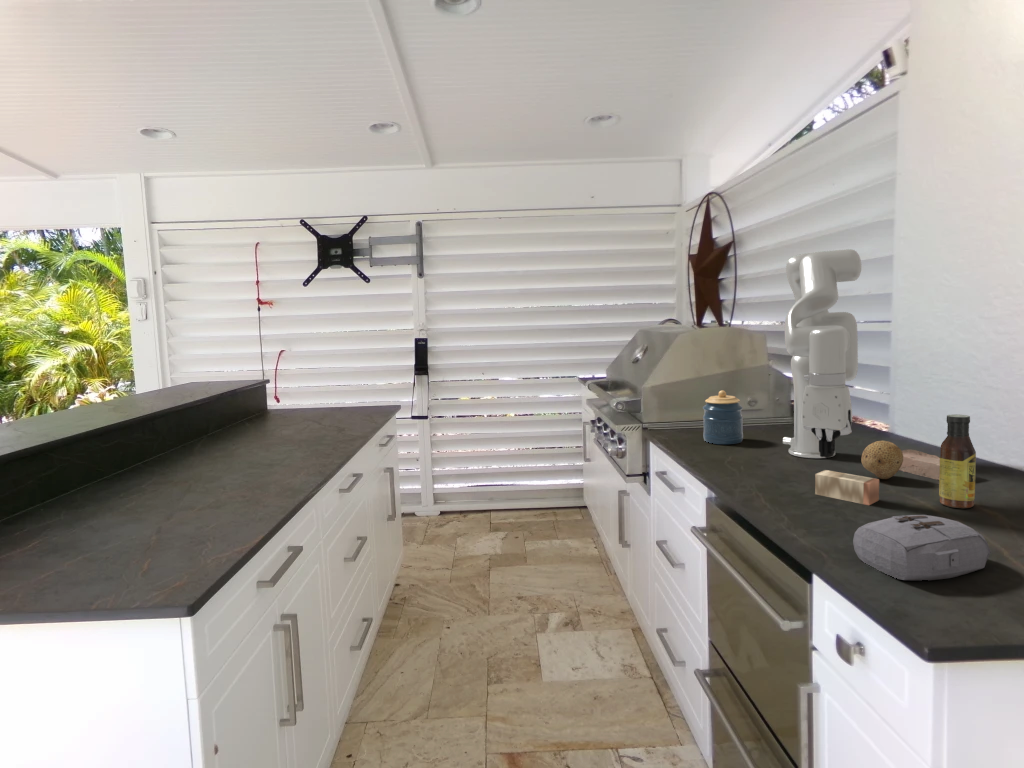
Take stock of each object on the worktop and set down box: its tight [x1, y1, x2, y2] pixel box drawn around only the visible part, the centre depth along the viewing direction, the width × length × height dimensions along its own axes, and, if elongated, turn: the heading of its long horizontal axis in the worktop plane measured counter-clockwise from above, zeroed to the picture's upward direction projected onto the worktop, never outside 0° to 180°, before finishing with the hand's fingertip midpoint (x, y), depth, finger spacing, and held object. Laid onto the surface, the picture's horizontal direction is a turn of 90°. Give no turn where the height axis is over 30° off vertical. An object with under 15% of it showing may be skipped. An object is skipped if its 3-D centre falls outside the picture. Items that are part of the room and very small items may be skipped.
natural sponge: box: [860, 440, 903, 480], centre depth 148 cm, size 9×9×10 cm
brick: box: [898, 449, 940, 481], centre depth 152 cm, size 17×8×5 cm, turn 18°
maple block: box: [814, 469, 880, 506], centre depth 137 cm, size 5×5×12 cm
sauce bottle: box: [938, 414, 977, 509], centre depth 127 cm, size 6×6×20 cm
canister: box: [702, 389, 744, 445], centre depth 200 cm, size 13×13×18 cm
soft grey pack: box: [852, 514, 991, 581], centre depth 101 cm, size 15×8×20 cm
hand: (826, 456), depth 140 cm, fingers closed
